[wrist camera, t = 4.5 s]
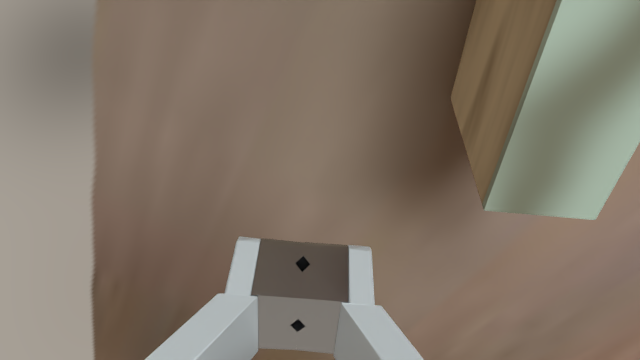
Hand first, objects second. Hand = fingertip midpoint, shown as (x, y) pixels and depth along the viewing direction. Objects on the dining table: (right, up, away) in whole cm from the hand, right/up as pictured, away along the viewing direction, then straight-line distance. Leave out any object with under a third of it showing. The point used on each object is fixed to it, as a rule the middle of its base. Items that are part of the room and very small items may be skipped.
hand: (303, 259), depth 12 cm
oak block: (+11, +11, +15) cm, 22 cm away
